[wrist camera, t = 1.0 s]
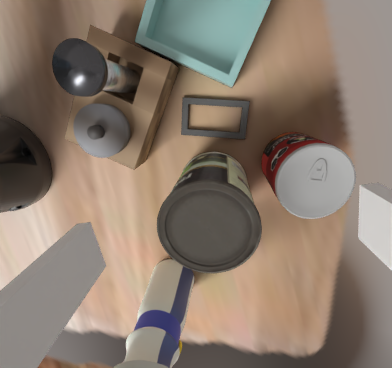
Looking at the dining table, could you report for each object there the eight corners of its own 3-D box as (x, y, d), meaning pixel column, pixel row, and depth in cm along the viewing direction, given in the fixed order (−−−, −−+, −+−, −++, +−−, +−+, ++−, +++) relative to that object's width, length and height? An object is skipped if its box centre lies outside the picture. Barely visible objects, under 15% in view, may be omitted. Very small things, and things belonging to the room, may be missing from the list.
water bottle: (207, 283, 43) (186, 505, 19) (170, 302, 45) (110, 521, 21) (179, 249, 41) (120, 446, 17) (142, 271, 43) (46, 470, 20)
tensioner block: (145, 161, 37) (124, 176, 29) (85, 134, 36) (47, 142, 29) (179, 68, 32) (165, 57, 24) (110, 36, 32) (73, 14, 24)
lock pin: (110, 90, 32) (47, 83, 21) (119, 56, 30) (58, 28, 19) (140, 104, 32) (95, 104, 21) (151, 71, 31) (108, 52, 19)
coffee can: (170, 197, 38) (141, 248, 25) (197, 139, 35) (181, 161, 21) (227, 225, 39) (230, 289, 25) (260, 170, 35) (283, 210, 22)
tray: (142, 47, 32) (134, 41, 29) (172, -52, 28) (166, -69, 25) (231, 88, 32) (232, 86, 29) (272, -4, 28) (278, -16, 26)
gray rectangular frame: (182, 134, 35) (181, 134, 34) (183, 97, 33) (182, 97, 33) (244, 138, 34) (244, 139, 33) (249, 101, 32) (249, 101, 32)
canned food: (315, 126, 32) (358, 137, 22) (316, 182, 35) (356, 215, 24) (257, 136, 34) (272, 150, 23) (262, 189, 36) (278, 223, 26)
